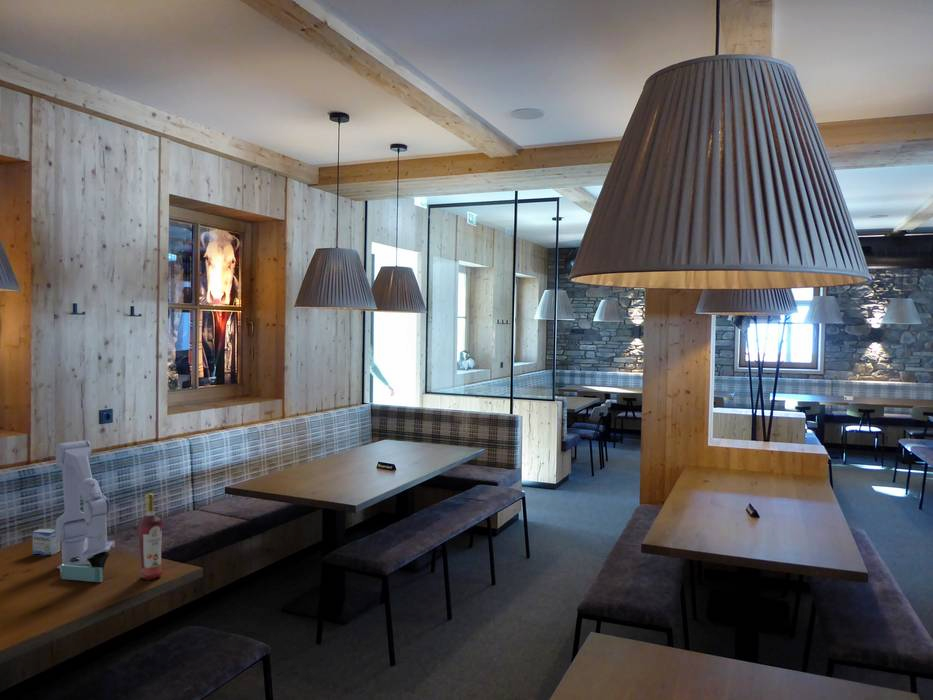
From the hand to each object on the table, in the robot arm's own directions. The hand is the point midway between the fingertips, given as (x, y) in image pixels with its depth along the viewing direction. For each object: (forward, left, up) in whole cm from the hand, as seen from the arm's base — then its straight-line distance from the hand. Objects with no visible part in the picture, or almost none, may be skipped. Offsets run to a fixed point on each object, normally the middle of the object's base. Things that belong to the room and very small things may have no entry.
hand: (98, 575), depth 225 cm
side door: (+1, -5, -1) cm, 6 cm away
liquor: (-1, +17, -2) cm, 17 cm away
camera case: (-6, -8, -2) cm, 10 cm away
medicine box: (-29, -31, -2) cm, 42 cm away
